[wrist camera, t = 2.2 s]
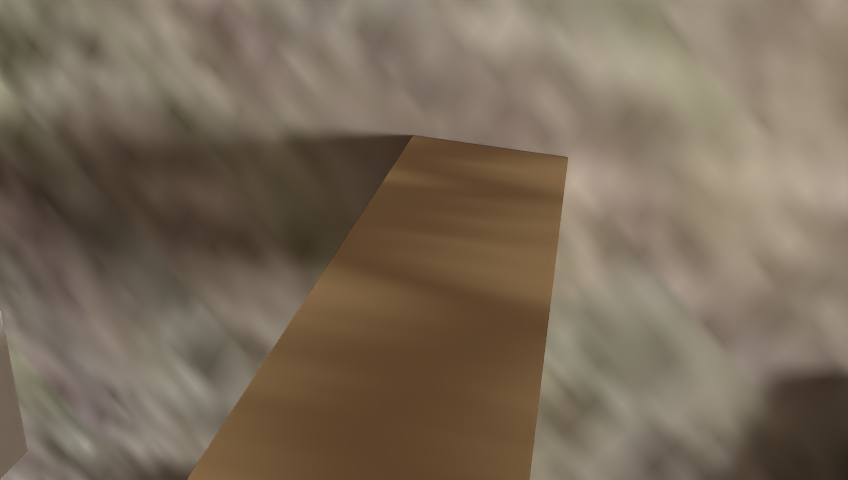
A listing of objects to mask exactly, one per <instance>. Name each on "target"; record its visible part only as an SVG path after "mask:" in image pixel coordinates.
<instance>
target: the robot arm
mask: <svg viewBox="0 0 848 480" xmlns="http://www.w3.org/2000/svg"><path fill="white" fill-rule="evenodd" d="M27 451H28V449H27V444H26V439H25V434H24V429H23V424H22V418H21V413H20V408H19V403H18V398H17V392H16V387H15V382H14V377H13V372H12V366H11V361H10V356H9V351H8V346H7V340H6V335H5V330H4V325H3V320H2V314H1V309H0V479H1V477H2V476H3V475H4V474H5V473H6V472H7V471H8V470H9V469H10V468H11V467H12V466H13V465H14V464H15V463H16V462H17V461H18V460H19V459H20V458H21V457H22V456H23V455H24V454H25V453H26V452H27Z"/></svg>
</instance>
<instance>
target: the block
mask: <svg viewBox="0 0 848 480" xmlns="http://www.w3.org/2000/svg"><path fill="white" fill-rule="evenodd" d="M567 162H568V158H567V157H560V156H553V155H546V154H539V153H532V152H525V151H518V150H511V149H504V148H497V147H490V146H483V145H476V144H469V143H462V142H455V141H448V140H441V139H434V138H427V137H420V136H413V137H412V138H411V140H410V141H409V143H408V144H407V146H406V147H405V149H404V150H403V152H402V153H401V155H400V156H399V158H398V159H397V161H396V162H395V164H394V165H393V167H392V169H391V170H390V172H389V173H388V175H387V176H386V178H385V179H384V181H383V182H382V184H381V185H380V187H379V188H378V190H377V191H376V193H375V194H374V196H373V197H372V199H371V200H370V202H369V203H368V205H367V207H366V208H365V210H364V211H363V213H362V214H361V216H360V217H359V219H358V220H357V222H356V223H355V225H354V226H353V228H352V229H351V231H350V232H349V234H348V235H347V237H346V238H345V240H344V241H343V243H342V245H341V246H340V248H339V249H338V251H337V252H336V254H335V255H334V257H333V258H332V260H331V261H330V263H329V264H328V266H327V267H326V269H325V270H324V272H323V273H322V275H321V276H320V278H319V279H318V281H317V283H316V284H315V286H314V287H313V289H312V290H311V292H310V293H309V295H308V296H307V298H306V299H305V301H304V302H303V304H302V305H301V307H300V308H299V310H298V311H297V313H296V314H295V316H294V317H293V319H292V321H291V322H290V324H289V325H288V327H287V328H286V330H285V331H284V333H283V334H282V336H281V337H280V339H279V340H278V342H277V343H276V345H275V346H274V348H273V349H272V351H271V352H270V354H269V355H268V357H267V359H266V360H265V362H264V363H263V365H262V366H261V368H260V369H259V371H258V372H257V374H256V375H255V377H254V378H253V380H252V381H251V383H250V384H249V386H248V387H247V389H246V390H245V392H244V393H243V395H242V397H241V398H240V400H239V401H238V403H237V404H236V406H235V407H234V409H233V410H232V412H231V413H230V415H229V416H228V418H227V419H226V421H225V422H224V424H223V425H222V427H221V428H220V430H219V431H218V433H217V435H216V436H215V438H214V439H213V441H212V442H211V444H210V445H209V447H208V448H207V450H206V451H205V453H204V454H203V456H202V457H201V459H200V460H199V462H198V463H197V465H196V466H195V468H194V469H193V471H192V473H191V474H190V476H189V477H188V479H187V480H529V478H530V470H531V462H532V453H533V445H534V437H535V428H536V420H537V412H538V403H539V395H540V387H541V378H542V370H543V362H544V353H545V345H546V337H547V328H548V320H549V312H550V303H551V295H552V287H553V279H554V270H555V262H556V254H557V245H558V237H559V229H560V220H561V212H562V204H563V195H564V187H565V179H566V170H567Z"/></svg>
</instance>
